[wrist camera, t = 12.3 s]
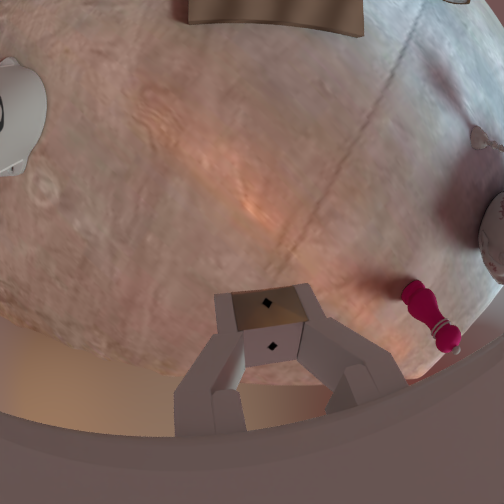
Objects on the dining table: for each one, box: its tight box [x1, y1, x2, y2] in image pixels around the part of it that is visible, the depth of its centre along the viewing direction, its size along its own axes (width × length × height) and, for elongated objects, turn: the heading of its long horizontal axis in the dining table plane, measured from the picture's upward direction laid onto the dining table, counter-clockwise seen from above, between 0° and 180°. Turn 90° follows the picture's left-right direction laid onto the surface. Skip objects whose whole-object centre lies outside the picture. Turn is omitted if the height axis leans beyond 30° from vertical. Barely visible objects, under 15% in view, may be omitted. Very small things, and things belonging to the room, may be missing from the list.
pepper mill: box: [401, 280, 461, 354], centre depth 48 cm, size 7×7×20 cm
